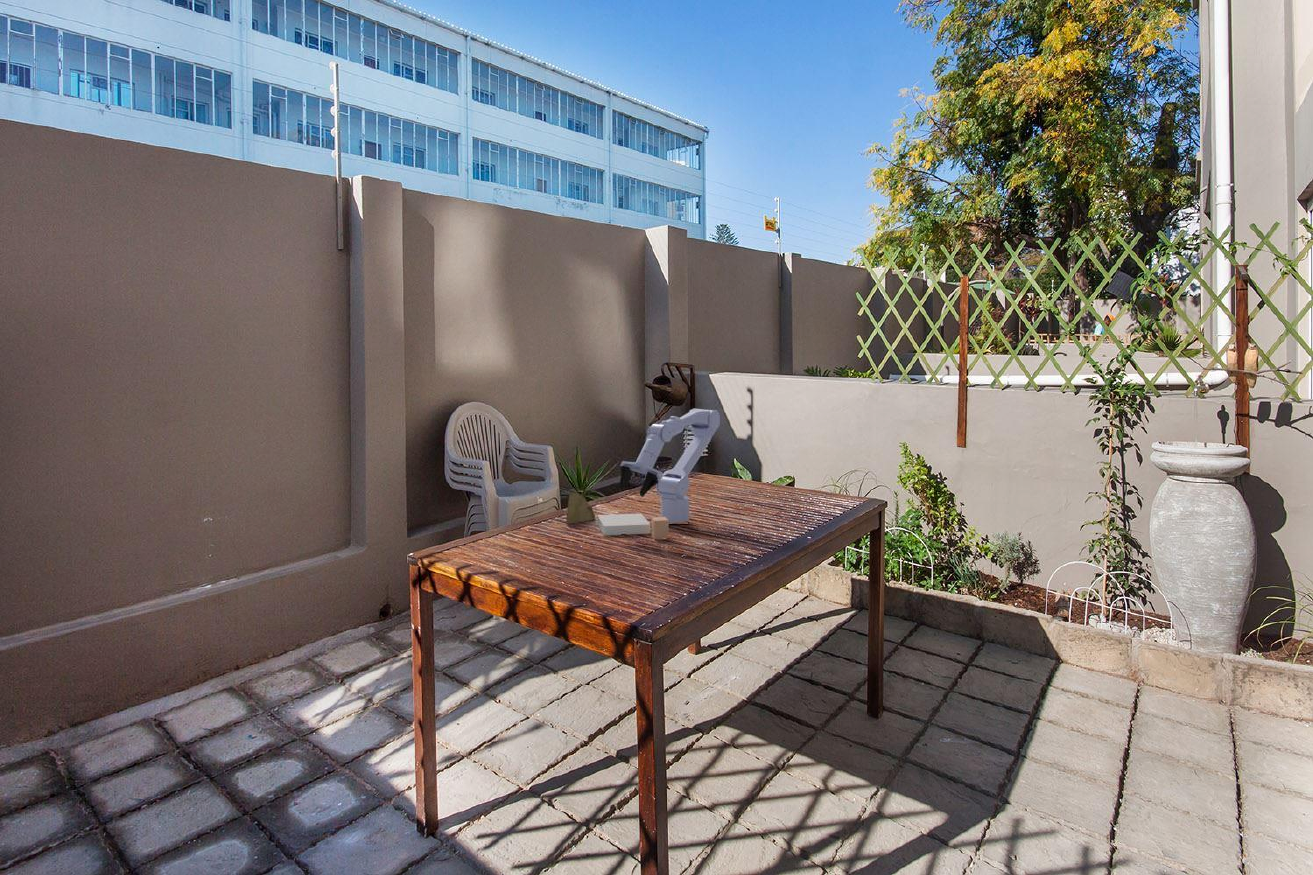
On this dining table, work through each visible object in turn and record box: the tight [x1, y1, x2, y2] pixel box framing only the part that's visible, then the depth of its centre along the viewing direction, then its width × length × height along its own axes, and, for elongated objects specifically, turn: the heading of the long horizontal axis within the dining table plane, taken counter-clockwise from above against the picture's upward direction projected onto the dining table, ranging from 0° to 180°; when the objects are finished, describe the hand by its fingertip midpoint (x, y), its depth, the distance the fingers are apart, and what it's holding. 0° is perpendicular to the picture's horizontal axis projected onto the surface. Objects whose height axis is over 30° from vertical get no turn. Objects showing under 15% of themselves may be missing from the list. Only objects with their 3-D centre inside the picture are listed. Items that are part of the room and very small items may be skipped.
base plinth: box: [596, 513, 651, 536], centre depth 239 cm, size 15×15×3 cm
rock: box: [565, 492, 596, 525], centre depth 248 cm, size 11×9×10 cm
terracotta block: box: [650, 516, 670, 540], centre depth 229 cm, size 4×4×6 cm
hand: (630, 492), depth 231 cm, fingers open, 7 cm apart
